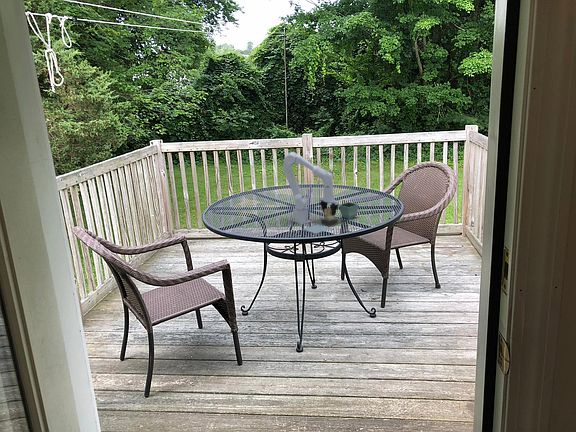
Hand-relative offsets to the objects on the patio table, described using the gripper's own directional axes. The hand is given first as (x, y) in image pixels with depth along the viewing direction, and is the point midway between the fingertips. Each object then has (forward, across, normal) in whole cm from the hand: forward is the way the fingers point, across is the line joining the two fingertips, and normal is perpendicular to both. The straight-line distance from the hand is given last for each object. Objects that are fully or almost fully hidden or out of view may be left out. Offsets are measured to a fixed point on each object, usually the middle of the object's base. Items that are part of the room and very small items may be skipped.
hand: (329, 214), depth 283 cm
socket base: (+5, 0, 0) cm, 5 cm away
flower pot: (+6, -3, -14) cm, 15 cm away
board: (+5, -5, +15) cm, 17 cm away
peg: (+5, 0, 0) cm, 5 cm away
